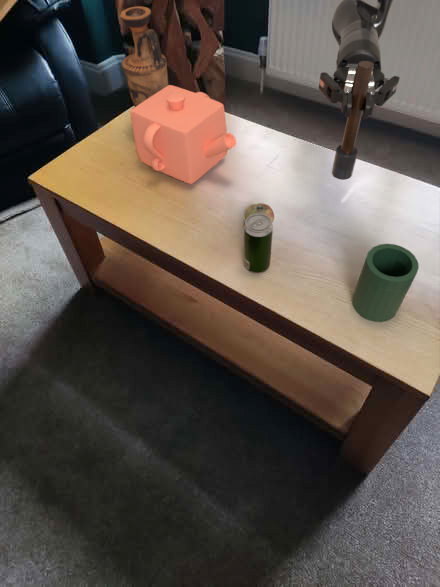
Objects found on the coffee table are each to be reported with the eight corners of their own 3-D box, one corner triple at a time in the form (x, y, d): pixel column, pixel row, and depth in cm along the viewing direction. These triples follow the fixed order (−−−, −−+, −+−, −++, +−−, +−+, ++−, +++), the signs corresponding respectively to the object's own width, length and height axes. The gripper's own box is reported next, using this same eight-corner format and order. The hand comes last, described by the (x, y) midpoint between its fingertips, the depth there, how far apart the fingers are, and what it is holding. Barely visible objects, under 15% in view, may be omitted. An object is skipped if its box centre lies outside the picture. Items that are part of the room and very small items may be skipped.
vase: (129, 137, 119) (100, 16, 95) (154, 119, 124) (133, -1, 100) (159, 150, 114) (137, 26, 91) (184, 130, 120) (169, 8, 96)
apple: (268, 244, 92) (269, 223, 88) (238, 228, 95) (238, 208, 91) (283, 228, 95) (285, 207, 90) (254, 213, 98) (254, 193, 93)
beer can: (254, 279, 87) (256, 237, 77) (238, 263, 89) (238, 220, 80) (275, 266, 88) (279, 224, 79) (258, 251, 91) (260, 208, 81)
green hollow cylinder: (378, 280, 85) (395, 237, 76) (407, 311, 80) (429, 269, 71) (343, 296, 83) (356, 254, 74) (370, 328, 78) (388, 288, 69)
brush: (344, 164, 82) (368, 56, 66) (356, 175, 80) (384, 66, 64) (327, 171, 81) (348, 62, 65) (339, 182, 79) (363, 72, 63)
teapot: (260, 161, 110) (263, 93, 95) (206, 211, 99) (200, 143, 85) (185, 131, 119) (177, 65, 105) (128, 173, 109) (111, 107, 95)
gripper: (322, 36, 76) (316, 86, 66) (404, 39, 74) (411, 91, 64) (316, 79, 82) (310, 130, 72) (392, 83, 80) (396, 136, 70)
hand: (357, 112), depth 68 cm, fingers closed on brush, 2 cm apart
